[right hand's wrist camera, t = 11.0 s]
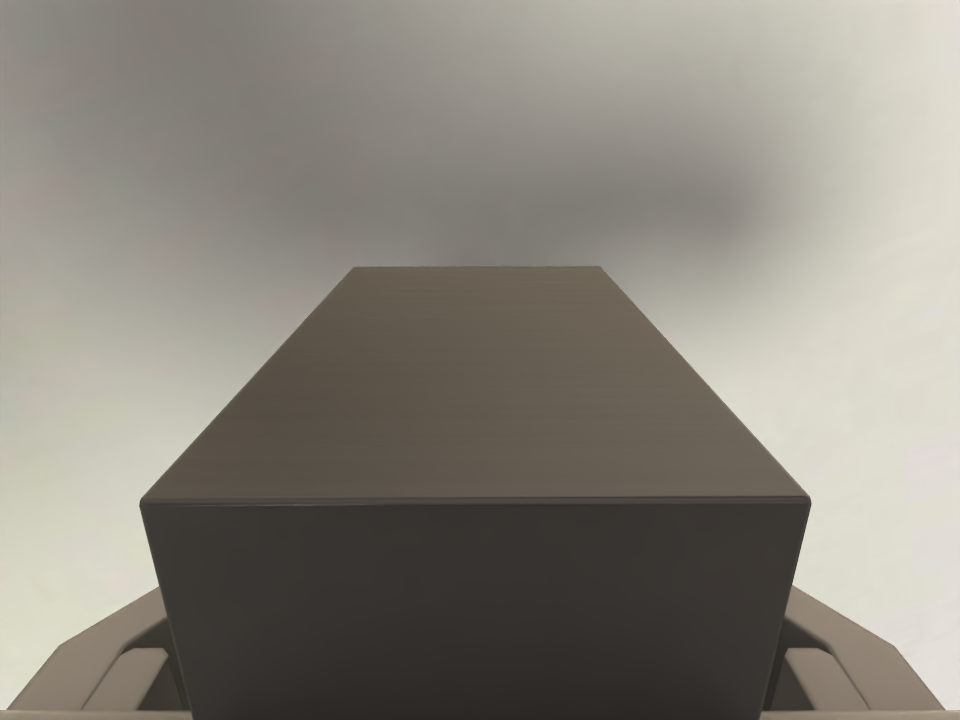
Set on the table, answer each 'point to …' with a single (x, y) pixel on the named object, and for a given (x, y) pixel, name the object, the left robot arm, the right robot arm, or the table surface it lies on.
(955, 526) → the table surface
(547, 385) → the bar
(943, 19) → the table surface
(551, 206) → the table surface
